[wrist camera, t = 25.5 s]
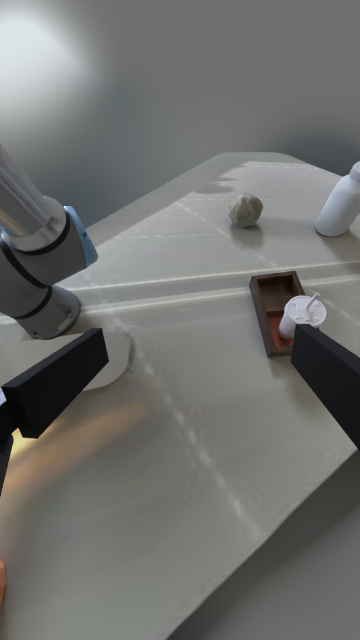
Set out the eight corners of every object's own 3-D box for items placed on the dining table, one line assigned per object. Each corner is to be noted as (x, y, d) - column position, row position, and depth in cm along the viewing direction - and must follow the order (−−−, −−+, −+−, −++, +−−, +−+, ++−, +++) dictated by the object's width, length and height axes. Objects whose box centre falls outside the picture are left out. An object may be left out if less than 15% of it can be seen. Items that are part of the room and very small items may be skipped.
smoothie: (301, 320, 42) (338, 280, 30) (304, 347, 40) (347, 316, 27) (270, 317, 44) (293, 279, 31) (271, 344, 41) (297, 313, 28)
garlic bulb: (255, 230, 61) (275, 204, 51) (234, 238, 58) (251, 213, 49) (240, 207, 62) (256, 178, 53) (219, 215, 60) (232, 185, 51)
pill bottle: (321, 240, 52) (359, 180, 39) (309, 221, 56) (339, 161, 43) (352, 234, 51) (401, 171, 38) (337, 215, 55) (377, 152, 42)
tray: (267, 357, 41) (272, 352, 37) (249, 285, 49) (251, 276, 46) (317, 353, 39) (327, 347, 36) (289, 280, 48) (295, 270, 45)
